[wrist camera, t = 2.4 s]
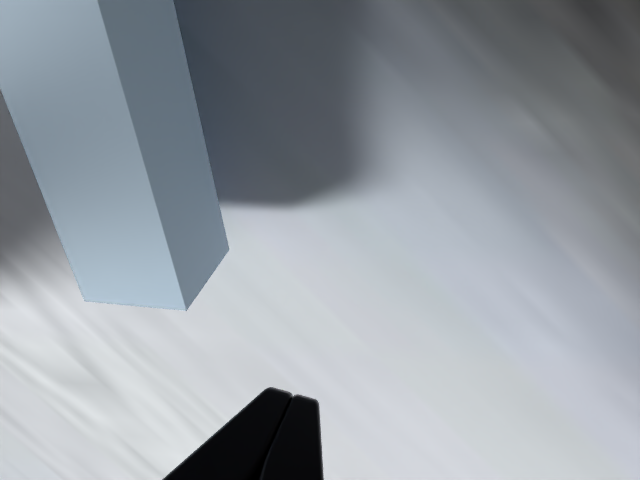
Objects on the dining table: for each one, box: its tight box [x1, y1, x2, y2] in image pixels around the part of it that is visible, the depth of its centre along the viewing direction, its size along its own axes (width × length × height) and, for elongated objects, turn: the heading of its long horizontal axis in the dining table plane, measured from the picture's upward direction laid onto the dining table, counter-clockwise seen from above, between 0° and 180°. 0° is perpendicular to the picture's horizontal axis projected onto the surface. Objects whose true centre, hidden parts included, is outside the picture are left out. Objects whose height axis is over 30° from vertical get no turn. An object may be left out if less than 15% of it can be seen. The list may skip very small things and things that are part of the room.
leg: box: [0, 0, 229, 311], centre depth 14 cm, size 11×3×3 cm, turn 6°
